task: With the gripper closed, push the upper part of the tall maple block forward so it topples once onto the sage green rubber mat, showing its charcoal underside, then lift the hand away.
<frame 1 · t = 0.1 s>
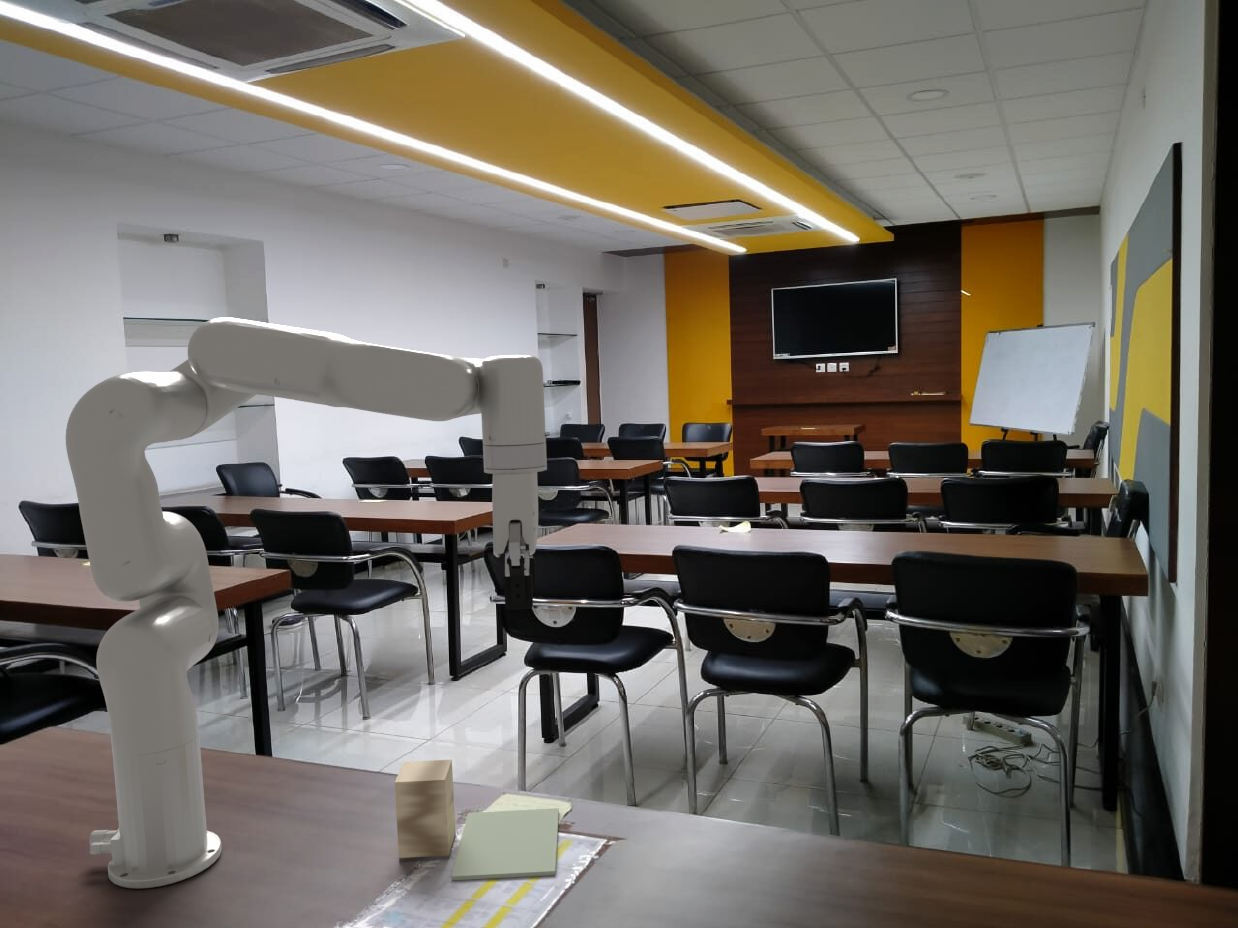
hand: (521, 598, 115), 31 cm above the table, tool pointing down, fingers open, 9 cm apart
maple block: (428, 848, 117), on the table
rubber mat: (508, 843, 118), on the table
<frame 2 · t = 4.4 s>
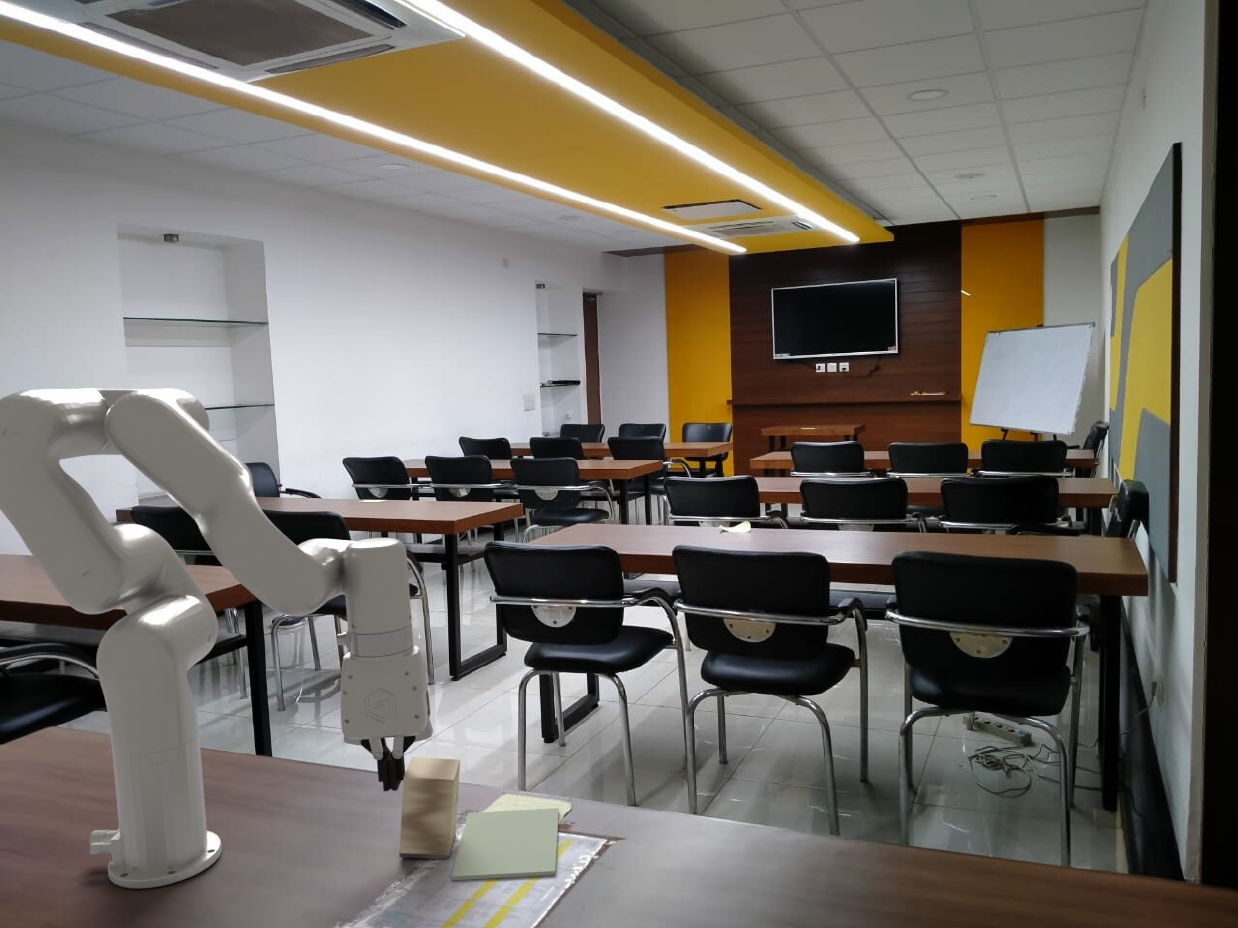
hand: (392, 785, 116), 8 cm above the table, tool pointing down, fingers closed
maple block: (428, 845, 117), on the table, tilted 6°
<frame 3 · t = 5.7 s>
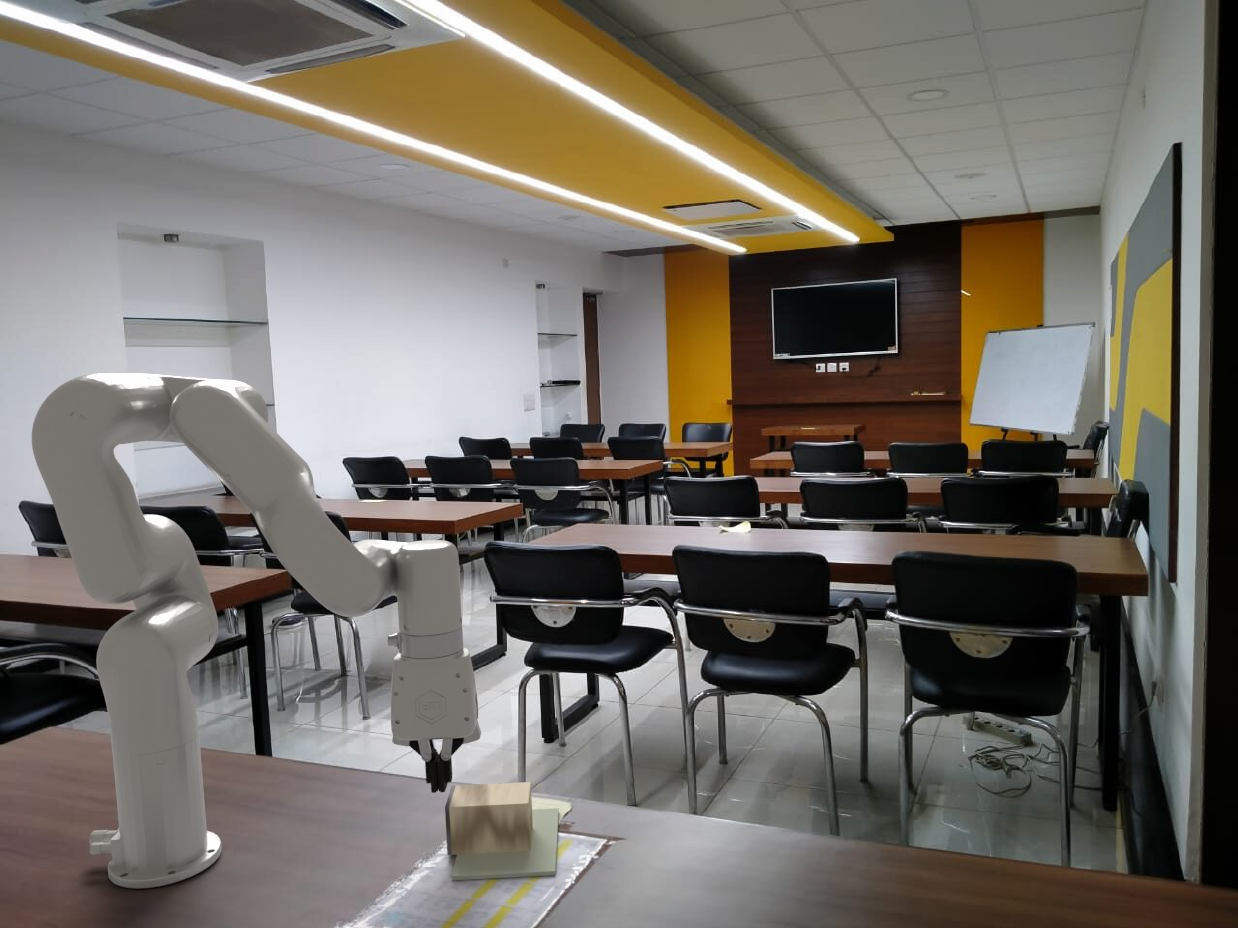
hand: (439, 787, 117), 8 cm above the table, tool pointing down, fingers closed
maple block: (449, 819, 117), point 3 cm above the table, tilted 90°, touching rubber mat
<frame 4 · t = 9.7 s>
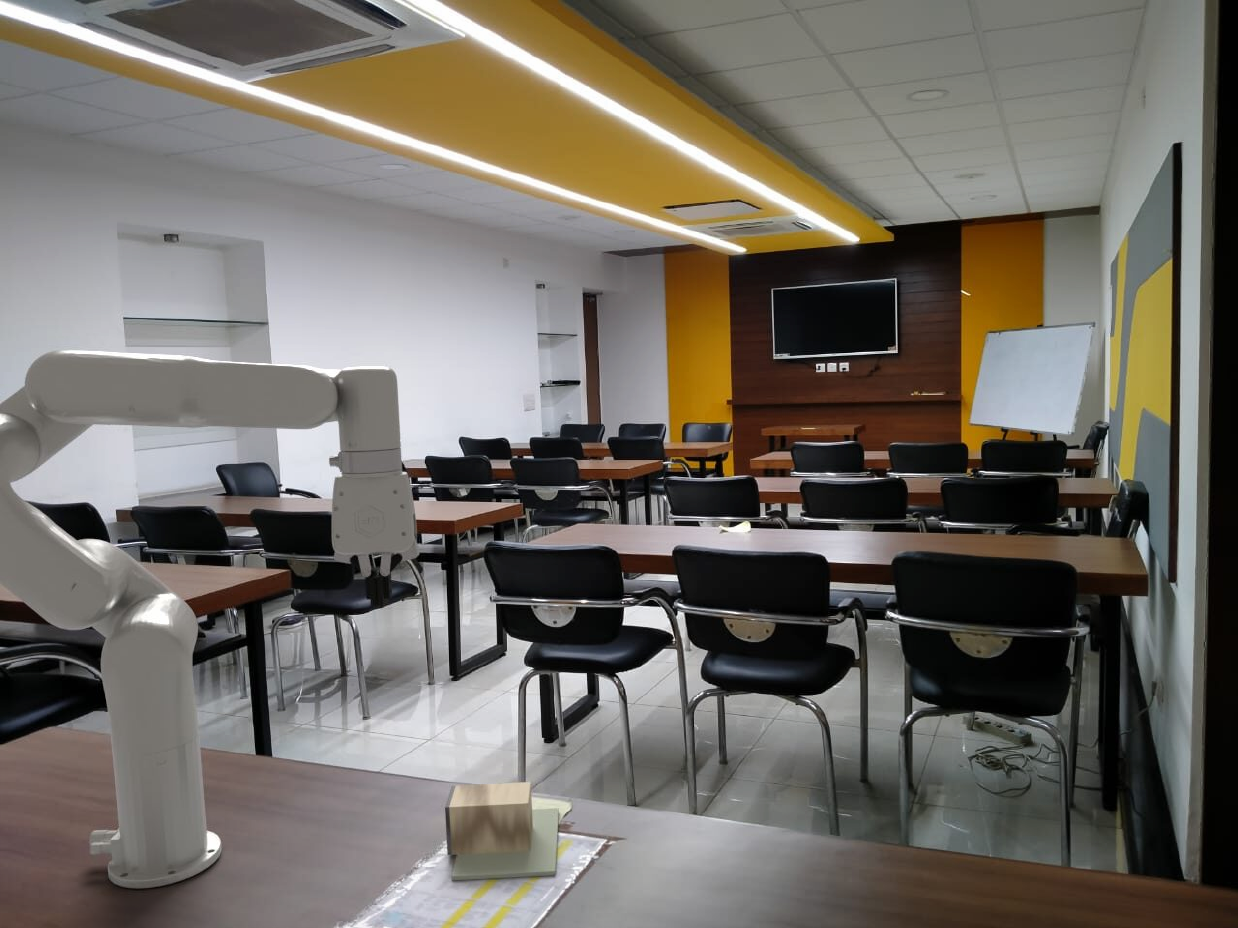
hand: (379, 604, 122), 29 cm above the table, tool pointing down, fingers closed
nothing on the table moved.
at the end: maple block tilted 90°; maple block inside the target area (2.7 cm from its centre), point 3.5 cm above the table; maple block touching rubber mat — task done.
